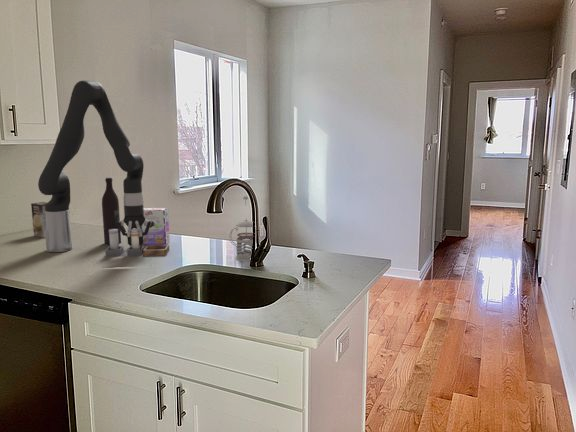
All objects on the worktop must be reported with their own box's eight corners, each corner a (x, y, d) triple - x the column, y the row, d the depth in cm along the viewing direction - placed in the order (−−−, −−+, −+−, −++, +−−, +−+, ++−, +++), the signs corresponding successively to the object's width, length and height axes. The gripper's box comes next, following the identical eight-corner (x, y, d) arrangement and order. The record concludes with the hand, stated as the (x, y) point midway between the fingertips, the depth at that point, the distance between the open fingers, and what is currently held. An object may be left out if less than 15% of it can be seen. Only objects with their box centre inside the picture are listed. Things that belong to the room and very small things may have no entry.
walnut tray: (143, 257, 199) (142, 250, 199) (147, 252, 208) (146, 245, 208) (166, 257, 200) (166, 249, 199) (169, 251, 209) (169, 244, 208)
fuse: (109, 255, 200) (107, 230, 199) (111, 252, 204) (109, 229, 202) (118, 254, 201) (116, 230, 199) (120, 252, 204) (119, 228, 202)
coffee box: (33, 235, 242) (30, 203, 239) (45, 233, 247) (42, 201, 244) (44, 237, 237) (41, 204, 234) (56, 235, 242) (53, 203, 240)
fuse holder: (104, 258, 198) (104, 250, 197) (110, 253, 206) (109, 245, 206) (141, 257, 199) (141, 249, 199) (145, 252, 208) (145, 244, 207)
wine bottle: (117, 246, 219) (113, 178, 214) (102, 246, 219) (97, 178, 214) (123, 242, 226) (119, 177, 221) (108, 242, 226) (103, 177, 221)
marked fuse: (130, 254, 201) (129, 230, 199) (132, 252, 205) (131, 228, 203) (139, 254, 201) (138, 230, 200) (141, 252, 205) (140, 228, 203)
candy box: (170, 243, 224) (168, 207, 222) (165, 246, 219) (164, 209, 216) (140, 243, 226) (139, 207, 223) (135, 245, 220) (133, 209, 217)
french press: (255, 261, 192) (254, 198, 188) (226, 260, 195) (225, 197, 190) (261, 255, 202) (260, 194, 198) (234, 254, 204) (233, 194, 200)
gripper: (113, 205, 195) (115, 248, 198) (149, 204, 197) (152, 247, 200) (117, 202, 203) (120, 243, 205) (152, 202, 204) (155, 243, 207)
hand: (135, 245), depth 202 cm, fingers closed on marked fuse, 3 cm apart
